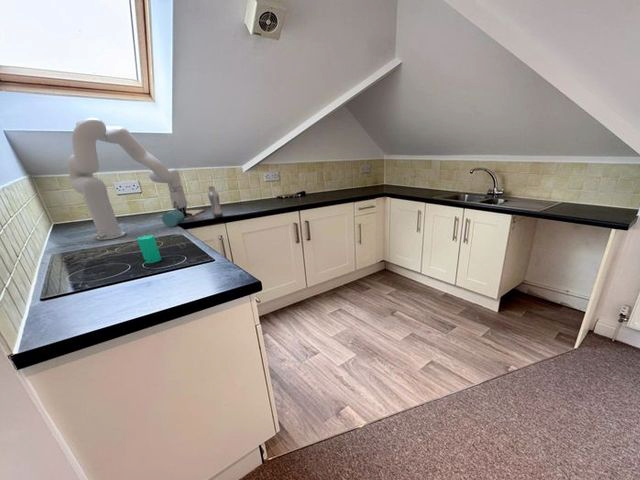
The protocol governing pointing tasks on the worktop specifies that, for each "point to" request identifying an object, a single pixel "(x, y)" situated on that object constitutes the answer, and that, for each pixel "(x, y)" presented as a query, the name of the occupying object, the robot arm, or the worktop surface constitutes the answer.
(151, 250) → the candle
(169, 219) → the bucket
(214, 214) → the plastic bottle
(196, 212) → the board
